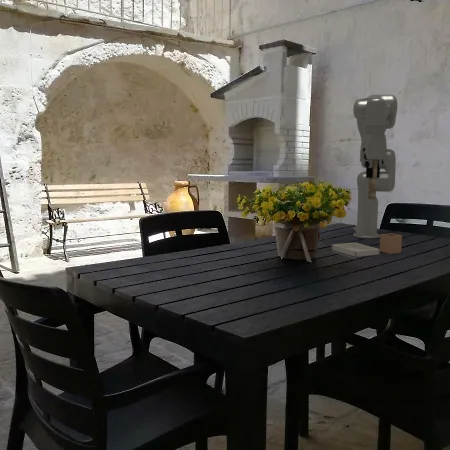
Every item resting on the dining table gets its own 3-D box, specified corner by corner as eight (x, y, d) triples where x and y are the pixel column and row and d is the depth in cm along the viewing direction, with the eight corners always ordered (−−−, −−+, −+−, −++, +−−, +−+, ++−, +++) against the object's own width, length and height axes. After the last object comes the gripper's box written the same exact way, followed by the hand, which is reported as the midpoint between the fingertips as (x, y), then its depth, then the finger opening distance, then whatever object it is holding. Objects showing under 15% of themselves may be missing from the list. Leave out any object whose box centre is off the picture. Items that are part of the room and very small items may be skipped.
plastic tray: (331, 251, 216) (331, 244, 216) (354, 249, 221) (354, 242, 221) (355, 259, 202) (355, 251, 201) (379, 256, 207) (380, 249, 206)
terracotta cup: (379, 253, 213) (380, 234, 211) (390, 252, 215) (391, 233, 214) (389, 256, 207) (390, 236, 206) (401, 255, 210) (402, 235, 208)
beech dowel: (366, 198, 208) (368, 158, 206) (372, 198, 210) (374, 158, 207) (371, 199, 206) (373, 159, 203) (377, 199, 207) (379, 159, 205)
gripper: (384, 131, 211) (381, 176, 213) (352, 131, 203) (350, 177, 206) (397, 131, 204) (395, 177, 207) (365, 130, 197) (363, 178, 200)
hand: (372, 177), depth 206 cm, fingers closed on beech dowel, 3 cm apart
